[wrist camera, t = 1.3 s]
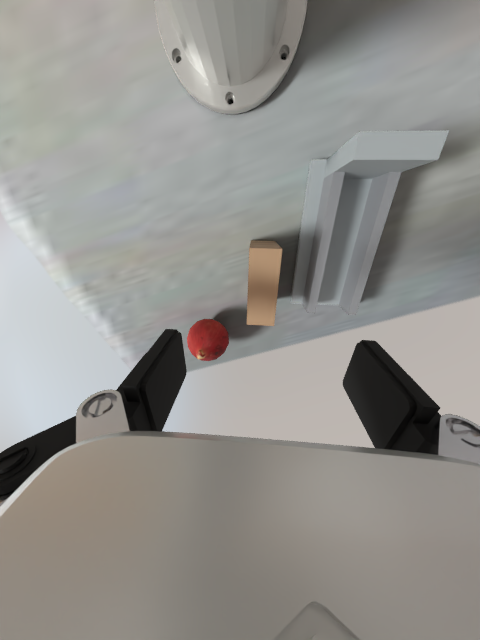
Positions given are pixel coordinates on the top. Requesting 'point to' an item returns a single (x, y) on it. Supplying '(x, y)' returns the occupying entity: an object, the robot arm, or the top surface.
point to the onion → (207, 339)
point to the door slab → (263, 282)
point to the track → (352, 213)
